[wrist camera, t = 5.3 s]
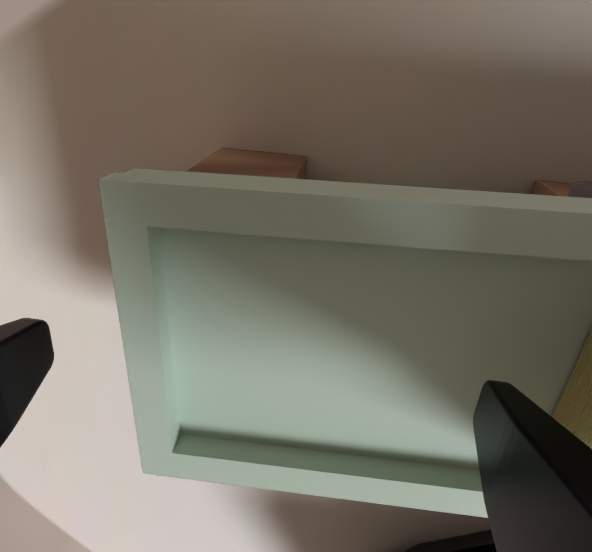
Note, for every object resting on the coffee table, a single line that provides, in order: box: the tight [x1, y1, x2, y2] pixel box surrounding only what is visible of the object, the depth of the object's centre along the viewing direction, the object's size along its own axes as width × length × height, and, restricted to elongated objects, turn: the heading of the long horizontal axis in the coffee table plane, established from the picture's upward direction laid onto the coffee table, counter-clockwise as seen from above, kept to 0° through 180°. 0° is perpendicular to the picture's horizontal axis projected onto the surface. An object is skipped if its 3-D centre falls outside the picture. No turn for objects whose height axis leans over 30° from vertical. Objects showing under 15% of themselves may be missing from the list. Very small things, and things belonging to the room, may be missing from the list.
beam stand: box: [187, 148, 592, 198], centre depth 12 cm, size 18×7×4 cm, turn 85°
